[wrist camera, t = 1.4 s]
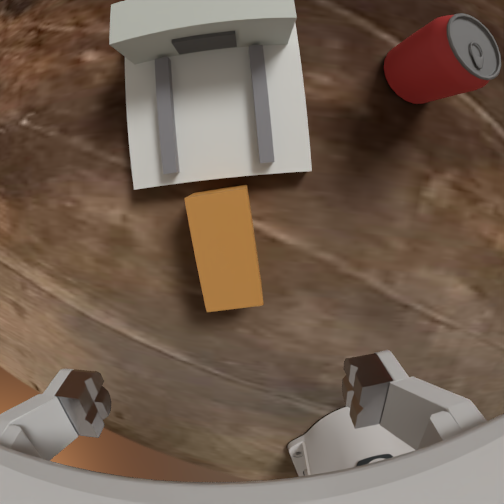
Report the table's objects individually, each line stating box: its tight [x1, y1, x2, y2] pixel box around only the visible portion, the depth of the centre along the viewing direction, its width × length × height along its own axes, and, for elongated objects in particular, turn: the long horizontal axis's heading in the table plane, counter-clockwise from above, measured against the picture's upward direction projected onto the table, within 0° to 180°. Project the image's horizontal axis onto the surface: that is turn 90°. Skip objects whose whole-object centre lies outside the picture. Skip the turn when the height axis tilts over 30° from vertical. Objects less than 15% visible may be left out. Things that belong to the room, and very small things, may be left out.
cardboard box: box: [184, 185, 263, 312], centre depth 29 cm, size 10×5×5 cm, turn 8°
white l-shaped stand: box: [109, 0, 312, 190], centre depth 23 cm, size 16×16×8 cm
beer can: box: [384, 13, 501, 104], centre depth 20 cm, size 7×7×12 cm
